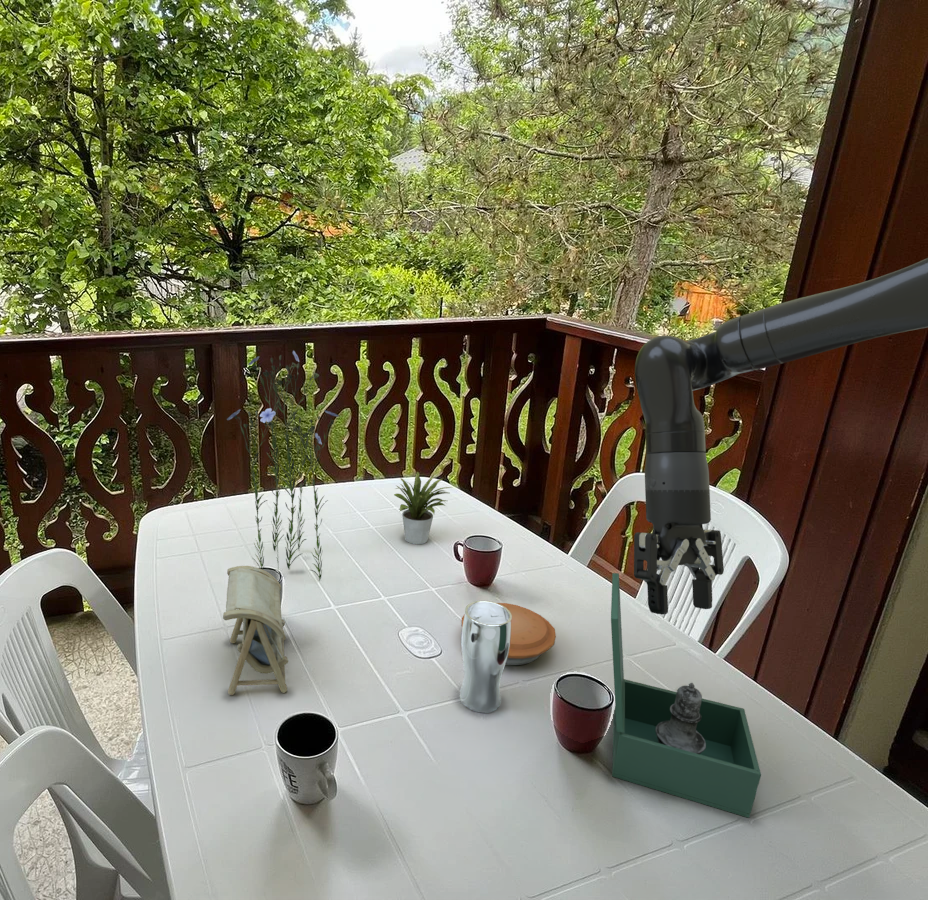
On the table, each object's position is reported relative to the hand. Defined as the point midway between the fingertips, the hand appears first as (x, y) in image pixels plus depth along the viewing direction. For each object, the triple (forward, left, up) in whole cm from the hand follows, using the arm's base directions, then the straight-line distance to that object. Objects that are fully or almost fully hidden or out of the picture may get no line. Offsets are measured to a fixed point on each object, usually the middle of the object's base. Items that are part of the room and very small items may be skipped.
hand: (681, 610), depth 84 cm
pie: (+10, -24, -20) cm, 33 cm away
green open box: (+2, +5, -20) cm, 20 cm away
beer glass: (+21, -13, -20) cm, 31 cm away
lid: (+8, 0, -5) cm, 9 cm away
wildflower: (+40, -61, -20) cm, 75 cm away
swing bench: (+52, -30, -20) cm, 63 cm away
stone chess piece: (+2, +5, -19) cm, 20 cm away
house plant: (+9, -65, -20) cm, 68 cm away
